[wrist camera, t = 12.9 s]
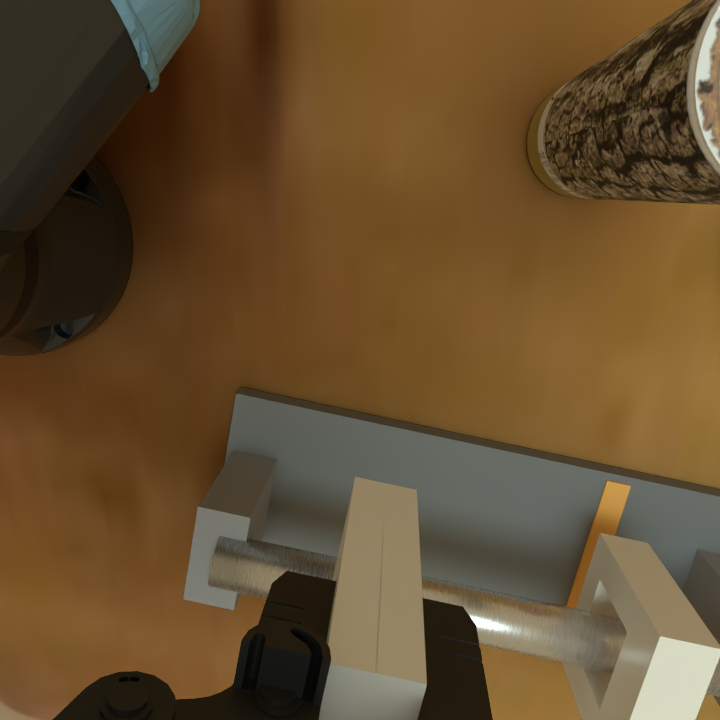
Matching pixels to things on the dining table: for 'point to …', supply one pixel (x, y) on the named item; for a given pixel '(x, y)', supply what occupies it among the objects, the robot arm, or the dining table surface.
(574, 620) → the pipe
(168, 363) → the dining table surface
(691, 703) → the collar
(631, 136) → the wooden log
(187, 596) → the pipe stand
